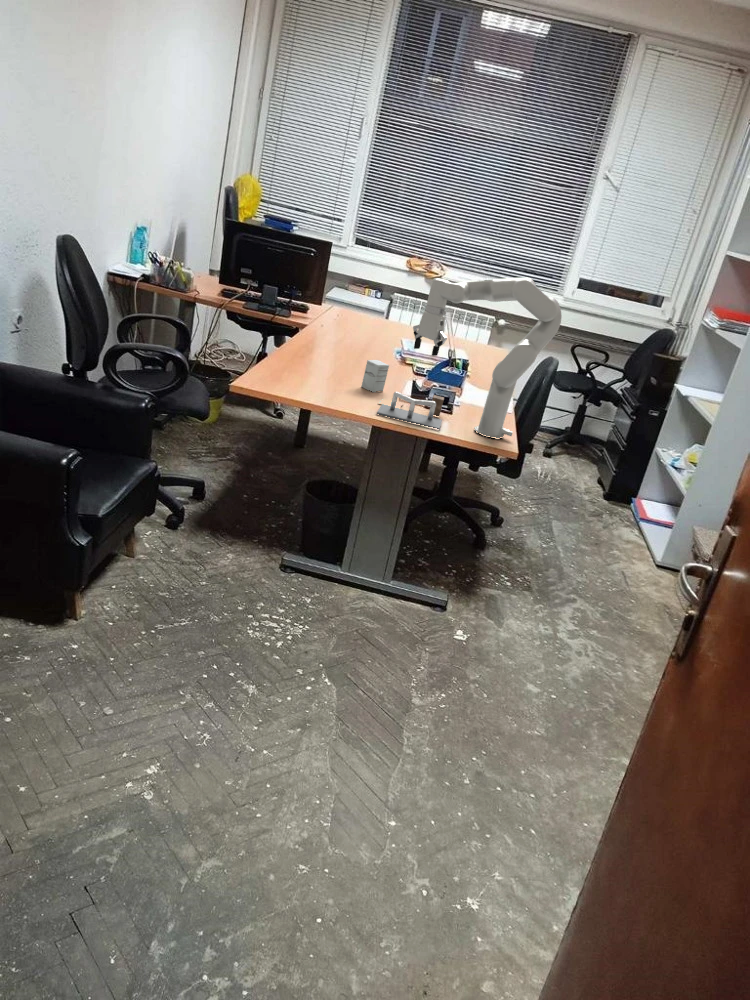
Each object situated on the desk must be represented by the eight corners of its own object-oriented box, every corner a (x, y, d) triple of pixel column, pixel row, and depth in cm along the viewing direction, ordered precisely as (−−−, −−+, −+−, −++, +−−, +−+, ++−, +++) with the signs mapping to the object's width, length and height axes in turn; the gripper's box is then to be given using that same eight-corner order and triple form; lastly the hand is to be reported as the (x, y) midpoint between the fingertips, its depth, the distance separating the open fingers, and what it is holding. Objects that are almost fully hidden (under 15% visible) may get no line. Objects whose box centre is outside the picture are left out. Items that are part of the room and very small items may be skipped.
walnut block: (439, 415, 325) (444, 397, 322) (438, 417, 321) (443, 400, 317) (429, 412, 325) (433, 394, 322) (428, 415, 321) (433, 397, 318)
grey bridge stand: (432, 419, 312) (436, 401, 309) (430, 423, 306) (435, 405, 303) (390, 408, 313) (394, 390, 310) (387, 412, 307) (392, 394, 304)
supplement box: (360, 387, 338) (366, 359, 333) (372, 386, 343) (378, 359, 338) (371, 392, 334) (378, 365, 329) (383, 392, 339) (389, 364, 334)
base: (441, 422, 315) (442, 419, 315) (438, 431, 303) (439, 428, 303) (381, 406, 317) (382, 404, 316) (376, 414, 305) (377, 411, 304)
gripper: (457, 316, 301) (447, 358, 308) (424, 305, 311) (415, 345, 318) (445, 316, 296) (435, 358, 303) (413, 304, 306) (404, 346, 313)
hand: (425, 352), depth 310 cm, fingers open, 9 cm apart
